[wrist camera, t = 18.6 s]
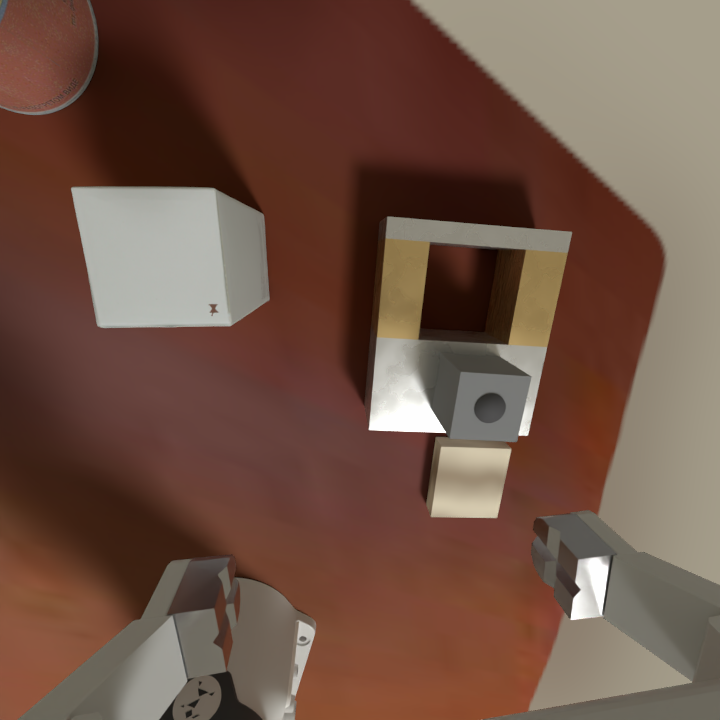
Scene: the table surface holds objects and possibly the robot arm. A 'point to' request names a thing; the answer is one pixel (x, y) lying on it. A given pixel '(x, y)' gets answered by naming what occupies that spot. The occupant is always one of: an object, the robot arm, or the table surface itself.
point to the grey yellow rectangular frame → (423, 346)
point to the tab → (467, 478)
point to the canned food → (45, 53)
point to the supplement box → (171, 255)
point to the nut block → (480, 397)
